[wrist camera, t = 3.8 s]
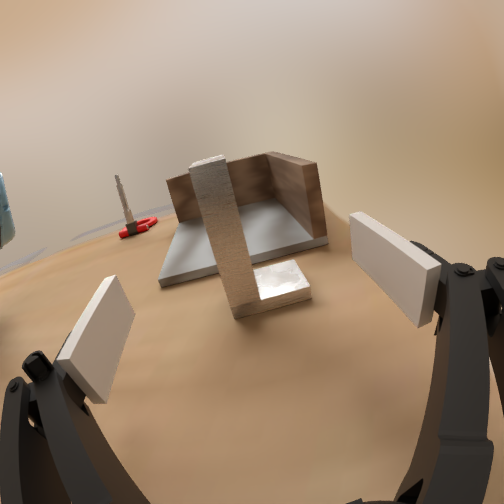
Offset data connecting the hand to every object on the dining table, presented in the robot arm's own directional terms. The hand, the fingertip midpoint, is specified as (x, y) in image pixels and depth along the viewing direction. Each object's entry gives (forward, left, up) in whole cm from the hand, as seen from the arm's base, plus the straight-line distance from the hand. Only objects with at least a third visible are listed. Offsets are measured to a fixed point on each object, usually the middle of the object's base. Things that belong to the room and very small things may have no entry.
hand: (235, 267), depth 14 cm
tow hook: (-20, +43, -7) cm, 48 cm away
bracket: (+2, +7, -7) cm, 10 cm away
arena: (0, +24, -7) cm, 25 cm away
